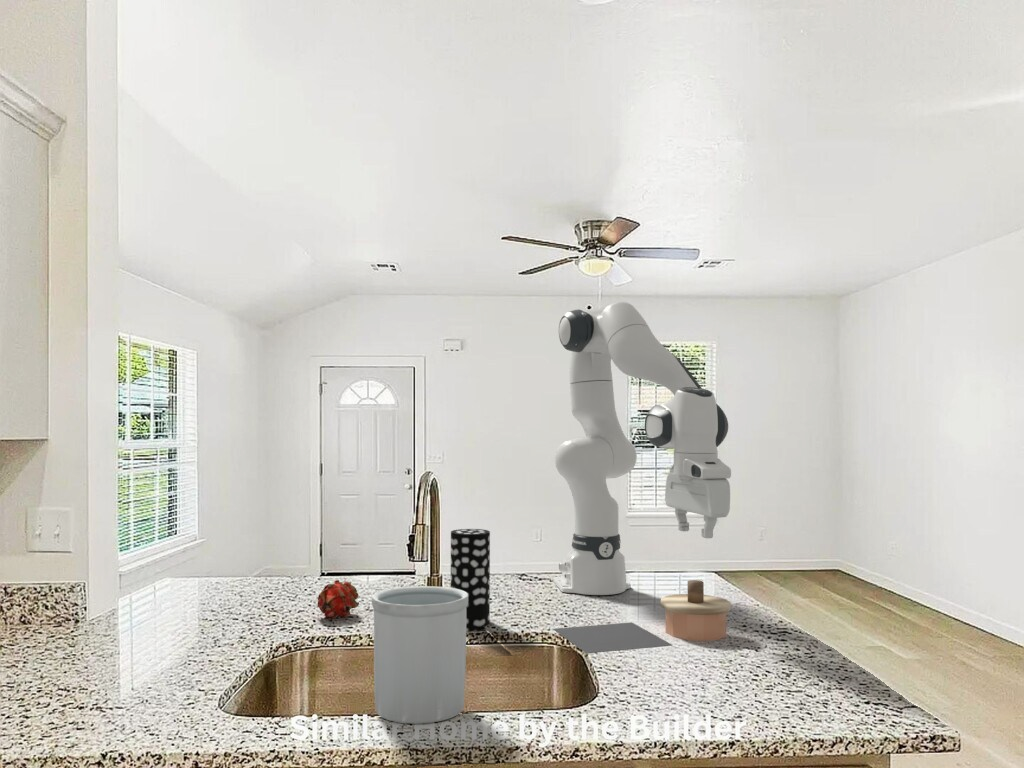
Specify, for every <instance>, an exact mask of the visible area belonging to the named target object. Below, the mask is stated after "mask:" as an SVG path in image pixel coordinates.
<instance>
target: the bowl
mask: <svg viewBox="0 0 1024 768" xmlns="http://www.w3.org/2000/svg"><path fill="white" fill-rule="evenodd" d="M665 633H666V634H667V635H669V636H671V637H672V638H677V639H682V640H685V641H697V642H698V641H700V642H709V641H717V640H718V641H719V640H721V639H724V638H727V612H726V613H722V614H714V615H693V614H683V613H677V612H673V611H669V610H666V609H665Z"/></svg>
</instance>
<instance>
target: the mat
mask: <svg viewBox="0 0 1024 768" xmlns="http://www.w3.org/2000/svg"><path fill="white" fill-rule="evenodd" d="M552 630H553V631H554V632H556V633H558V635H560V636H561V637H563V638H564V639H565V640H567V641H569V642H570V643H571V644H573V645H574V646H575V647H577V648H579V650H581V651H583V653H585V654H593V653H605V652H614V651H616V652H617V651H627V650H637V649H649V648H650V649H651V648H659V647H660V648H661V647H670V646H671V647H672V646H673V644H672V643H670V642H668V641H666V640H665V639H662V638H661V637H659V636H657V635H655V634H654V633H652V632H650V631H648V630H646V629H645V628H643V627H641V626H640V625H638V624H636V623H634V622H632V621H631V622H621V623H611V624H610V623H607V624H597V625H596V624H595V625H584V626H582V625H581V626H573V627H572V626H570V627H560V628H559V627H558V628H552Z"/></svg>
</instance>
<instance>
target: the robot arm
mask: <svg viewBox="0 0 1024 768" xmlns="http://www.w3.org/2000/svg"><path fill="white" fill-rule="evenodd" d="M559 320H560V321H559V323H558V338H559V340H560V341H559V342H560V345H562V347H563V348H564V349H565V350H567V351H569V352H570V359H569V390H570V404H571V413H572V415H573V417H574V418H575V419H576V420H577V421H578V422H579V423H580V425H581V427H582V428H583V431H584V433H585V436H582V437H581V436H580V437H575V438H572V439H569V440H566V441H563V442H562V443H561V444H560V445H559V446H558V447H557V449H556V451H555V457H554V459H555V460H554V462H555V467H556V470H557V471H558V473H559V474H560V475H561V476H562V477H563V478H564V480H565V481H566V482H567V485H568V487H569V489H570V493H571V494H572V495H571V496H572V500H573V505H574V533H573V534H572V541H571V549H570V551H569V552H568V553H567V554H566V555H565V557H564V558H563V559H562V562H559V563H558V571H559V573H560V572H561V575H558V576H555V577H553V579H552V581H553V583H554V584H555V586H557V588H558V589H559V590H560V591H561V593H562V592H563V593H569V594H572V593H573V594H579V595H587V596H588V595H589V596H590V595H591V596H609V595H611V596H612V595H617V594H621V593H624V592H625V591H626V590H628V589H630V588H632V586H631V583H630V582H628V581H627V573H626V559H625V555H624V554H622V552H621V550H620V549H621V535H620V534H619V504H618V501H617V500H616V499H615V498H614V497H612V496H611V494H610V492H609V488H608V485H607V480H608V479H616V478H619V477H623V476H624V475H626V474H628V473H630V472H631V471H632V470H634V468H635V466H636V463H637V457H638V456H637V451H636V448H635V446H634V445H633V443H632V442H631V441H630V440H629V439H628V438H627V437H626V434H625V433H624V431H623V429H622V427H621V424H620V421H619V418H618V415H617V410H616V405H615V393H614V382H613V373H612V363H613V364H614V365H615V367H617V369H619V371H621V373H623V374H624V375H627V376H629V377H631V378H636V379H640V380H644V381H649V382H651V383H655V384H657V385H661V386H663V387H665V388H666V389H667V390H669V391H670V392H671V393H672V394H673V396H672V397H671V398H670V399H668V400H666V401H664V402H662V403H660V404H654V405H653V406H652V407H651V408H650V409H649V411H648V412H647V414H646V416H645V419H644V433H645V436H646V438H647V439H648V441H649V442H650V444H652V446H655V447H658V448H660V449H674V450H673V464H672V466H671V468H670V469H669V473H667V476H666V481H665V492H664V501H665V502H664V503H665V505H666V506H667V507H669V508H673V509H674V510H675V511H674V513H675V517H676V520H677V522H678V523H677V527H678V530H679V531H680V532H689V531H690V522H688V518H687V514H688V512H689V513H693V514H697V515H701V516H703V522H704V526H703V528H701V537H702V538H704V539H713V537H714V529H715V527H716V524H717V522H718V520H717V519H718V518H727V517H728V515H729V513H730V509H731V484H730V482H729V480H728V479H730V478H731V477H732V469H731V467H730V466H728V465H726V463H724V462H723V461H722V460H721V459H720V458H718V457H719V456H718V455H719V454H718V452H719V451H718V447H719V446H720V445H721V444H722V443H723V441H725V439H726V438H727V434H728V432H729V422H728V418H727V415H726V413H725V411H724V410H723V409H722V408H721V406H720V405H718V404H717V401H716V397H715V394H714V393H713V392H712V391H711V390H709V389H707V388H702V387H701V385H700V384H699V383H698V381H697V379H695V377H694V376H693V374H692V373H691V372H690V370H689V369H688V368H687V366H686V365H685V364H684V363H683V362H682V360H681V359H680V358H678V357H677V355H675V354H673V353H672V352H671V351H669V350H668V349H667V348H666V347H665V346H664V345H663V344H662V343H661V342H660V341H659V340H658V339H657V337H656V336H655V334H653V332H652V330H651V328H650V327H649V325H648V323H647V321H646V320H645V318H644V317H643V316H642V315H641V313H640V312H639V311H638V310H637V309H636V307H635V306H634V305H632V304H631V303H629V302H625V301H616V302H612V303H611V304H609V305H607V306H606V307H601V308H590V309H573V310H569V311H567V312H565V313H564V314H563V316H562V317H561V319H559ZM611 362H612V363H611Z"/></svg>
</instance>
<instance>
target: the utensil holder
mask: <svg viewBox="0 0 1024 768" xmlns="http://www.w3.org/2000/svg"><path fill="white" fill-rule="evenodd" d="M371 605H372V608H373V670H374V671H373V673H374V675H373V677H374V679H373V680H374V681H373V682H374V707H375V708H374V709H375V712H376V715H377V716H379V717H380V718H382V719H384V720H388V721H390V722H395V723H400V724H412V725H413V724H414V725H415V724H429V723H430V724H431V723H437V722H442V721H446V720H449V719H452V718H455V717H456V716H458V715H459V714H460V713H461V712H463V710H464V709H465V707H464V706H465V691H466V690H465V688H466V667H467V663H466V662H467V661H466V660H467V658H466V653H467V650H466V649H467V631H466V607H467V605H468V593H467V592H465V591H463V590H460V589H455V588H451V587H448V586H447V587H446V586H433V585H432V586H431V585H427V586H426V585H423V586H419V585H417V586H416V585H415V586H401V587H393V588H386V589H383V590H380V591H377V592H375V593H374V594H372V597H371Z"/></svg>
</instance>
